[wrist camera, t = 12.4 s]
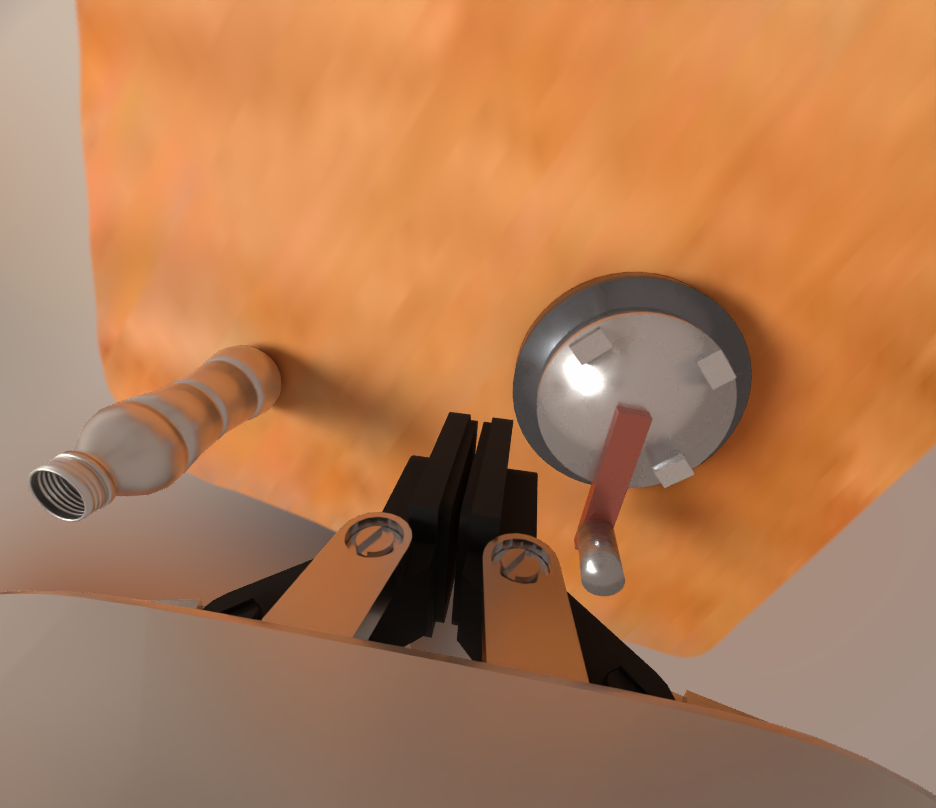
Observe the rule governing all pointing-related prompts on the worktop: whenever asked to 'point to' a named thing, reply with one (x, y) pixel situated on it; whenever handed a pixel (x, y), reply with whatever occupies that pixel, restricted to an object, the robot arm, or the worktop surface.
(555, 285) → the worktop surface
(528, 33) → the worktop surface
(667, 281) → the gray plate
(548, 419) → the crank handle wheel
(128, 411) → the plastic bottle
